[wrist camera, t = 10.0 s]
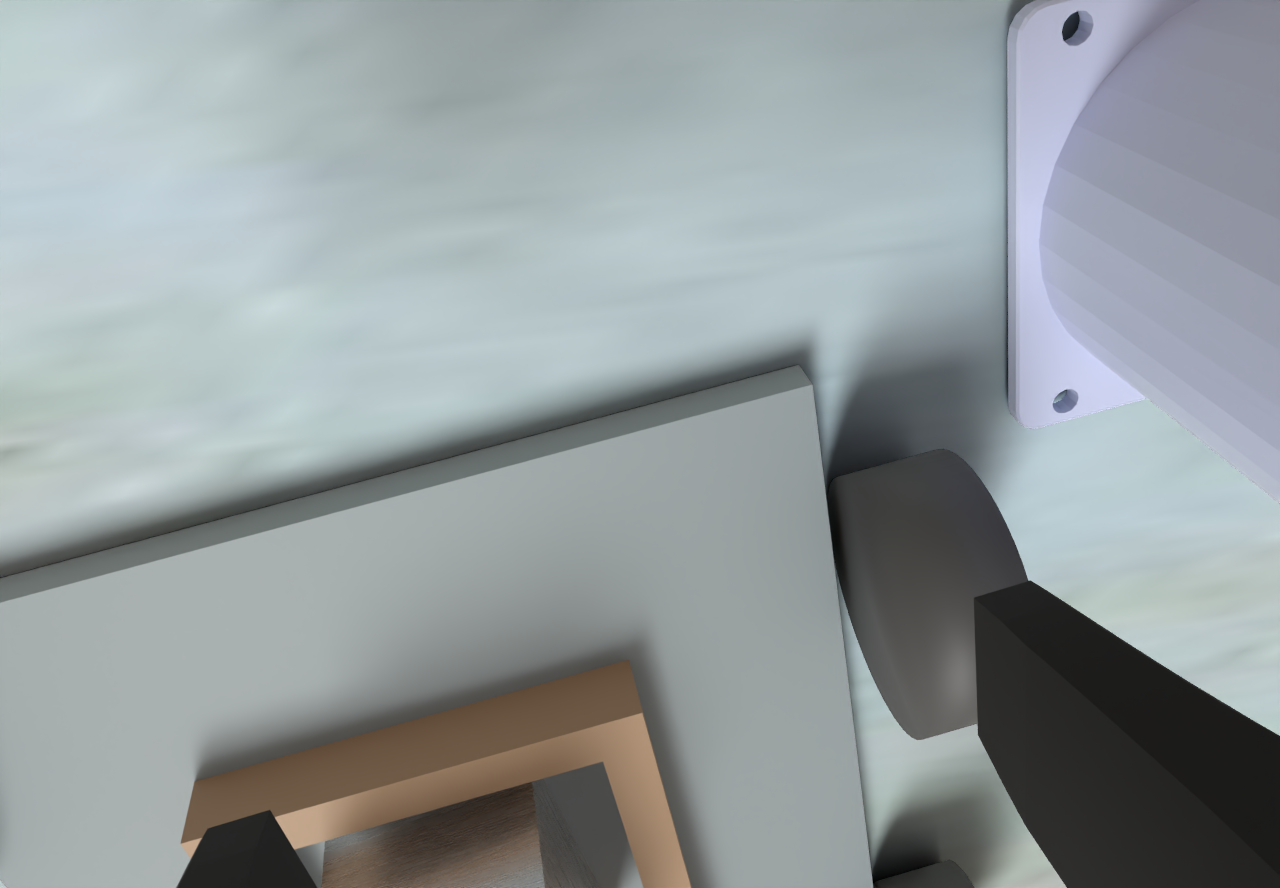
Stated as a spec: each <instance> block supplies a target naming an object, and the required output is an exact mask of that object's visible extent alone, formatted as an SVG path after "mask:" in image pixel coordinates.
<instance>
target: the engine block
mask: <svg viewBox="0 0 1280 888" xmlns="http://www.w3.org/2000/svg"><path fill="white" fill-rule="evenodd" d="M321 888H601V887H600V885H599V883H598V882H597V880H596V878H595V876H594V874H593V872H592V870H591V868H590V866H589V864H588V862H587V861H586V859H585V857H584V855H583V853H582V851H581V849H580V847H579V845H578V843H577V842H576V840H575V838H574V836H573V834H572V832H571V830H570V828H569V826H568V824H567V822H566V821H565V819H564V817H563V815H562V813H561V811H560V809H559V807H558V805H557V803H556V802H555V800H554V798H553V796H552V794H551V792H550V790H549V788H548V786H547V784H546V782H545V781H544V779H540V780H536V781H533V782H529V783H526V784H522V785H519V786H515V787H512V788H508V789H505V790H501V791H498V792H494V793H491V794H487V795H484V796H480V797H477V798H473V799H470V800H466V801H463V802H459V803H456V804H452V805H449V806H445V807H442V808H438V809H435V810H431V811H428V812H424V813H421V814H417V815H414V816H410V817H407V818H403V819H400V820H396V821H393V822H389V823H386V824H382V825H379V826H375V827H372V828H368V829H365V830H361V831H358V832H354V833H351V834H347V835H344V836H340V837H337V838H333V839H330V840H326V841H325V849H324V861H323V872H322V884H321Z"/></svg>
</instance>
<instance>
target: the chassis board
mask: <svg viewBox="0 0 1280 888" xmlns="http://www.w3.org/2000/svg"><path fill="white" fill-rule="evenodd" d="M833 555H834V558H833ZM834 560H835V565H836V569H837V574H838V578H839V582H840V586H841V589H842V593H843V597H844V600H845V603H846V607H847V610H848V613H849V616H850V619H851V623H852V626H853V629H854V631H855V634H856V637H857V640H858V643H859V645H860V648H861V650H862V653H863V656H864V658H865V661H866V663H867V665H868V668H869V670H870V672H871V675H872V677H873V679H874V681H875V683H876V685H877V687H878V689H879V691H880V693H881V695H882V697H883V699H884V701H885V703H886V705H887V706H888V708H889V710H890V711H891V713H892V715H893V716H894V718H895V719H896V721H897V722H898V723H899V725H900V726H901V727H902V728H903V730H904V731H905V732H906V733H907V734H908V735H910V736H911V737H912V738H914V739H916V740H922V739H926V738H929V737H933V736H936V735H940V734H943V733H946V732H950V731H953V730H957V729H960V728H964V727H967V726H971V725H974V724H978V718H977V686H976V655H975V623H974V597H977V596H981V595H984V594H987V593H991V592H994V591H997V590H1001V589H1004V588H1007V587H1011V586H1014V585H1017V584H1020V583H1024V582H1027V581H1028V578H1027V575H1026V572H1025V569H1024V566H1023V563H1022V561H1021V558H1020V555H1019V553H1018V550H1017V548H1016V545H1015V542H1014V540H1013V538H1012V536H1011V533H1010V531H1009V529H1008V527H1007V524H1006V522H1005V520H1004V518H1003V517H1002V515H1001V513H1000V511H999V509H998V507H997V505H996V503H995V502H994V500H993V498H992V496H991V495H990V493H989V492H988V490H987V489H986V487H985V486H984V484H983V483H982V481H981V480H980V478H979V477H978V476H977V475H976V473H975V472H974V471H973V469H972V468H971V467H970V466H969V465H968V464H967V463H966V462H965V461H964V460H963V459H961V458H960V457H959V456H958V455H956V454H955V453H953V452H951V451H949V450H945V449H937V450H933V451H930V452H926V453H923V454H919V455H915V456H912V457H908V458H904V459H901V460H897V461H893V462H890V463H886V464H882V465H879V466H875V467H871V468H868V469H864V470H860V471H857V472H853V473H850V474H846V475H842V476H839V477H836V478H834V479H833V481H832V482H831V484H830V488H829V493H828V508H827V500H826V492H825V484H824V475H823V467H822V459H821V450H820V442H819V434H818V426H817V417H816V409H815V401H814V392H813V384H812V383H811V382H810V380H809V379H808V377H807V376H806V374H805V373H804V372H803V370H802V369H801V367H800V366H799V365H796V366H792V367H788V368H784V369H781V370H777V371H773V372H769V373H766V374H762V375H758V376H755V377H751V378H747V379H743V380H740V381H736V382H732V383H728V384H725V385H721V386H717V387H713V388H710V389H706V390H702V391H698V392H695V393H691V394H687V395H684V396H680V397H676V398H672V399H669V400H665V401H661V402H657V403H654V404H650V405H646V406H642V407H639V408H635V409H631V410H627V411H624V412H620V413H616V414H612V415H609V416H605V417H601V418H598V419H594V420H590V421H586V422H583V423H579V424H575V425H571V426H568V427H564V428H560V429H556V430H553V431H549V432H545V433H541V434H538V435H534V436H530V437H526V438H523V439H519V440H515V441H512V442H508V443H504V444H500V445H497V446H493V447H489V448H485V449H482V450H478V451H474V452H470V453H467V454H463V455H459V456H455V457H452V458H448V459H444V460H441V461H437V462H433V463H429V464H426V465H422V466H418V467H414V468H411V469H407V470H403V471H399V472H396V473H392V474H388V475H384V476H381V477H377V478H373V479H369V480H366V481H362V482H358V483H355V484H351V485H347V486H343V487H340V488H336V489H332V490H328V491H325V492H321V493H317V494H313V495H310V496H306V497H302V498H298V499H295V500H291V501H287V502H283V503H280V504H276V505H272V506H269V507H265V508H261V509H257V510H254V511H250V512H246V513H242V514H239V515H235V516H231V517H227V518H224V519H220V520H216V521H212V522H209V523H205V524H201V525H198V526H194V527H190V528H186V529H183V530H179V531H175V532H171V533H168V534H164V535H160V536H156V537H153V538H149V539H145V540H141V541H138V542H134V543H130V544H126V545H123V546H119V547H115V548H112V549H108V550H104V551H100V552H97V553H93V554H89V555H85V556H82V557H78V558H74V559H70V560H67V561H63V562H59V563H55V564H52V565H48V566H44V567H40V568H37V569H33V570H29V571H26V572H22V573H18V574H14V575H11V576H7V577H3V578H0V880H1V881H2V883H3V884H4V885H5V886H6V887H7V888H176V887H177V885H178V883H179V881H180V879H181V877H182V875H183V873H184V871H185V869H186V867H187V865H188V863H189V862H190V860H191V858H192V856H193V854H194V852H195V850H196V848H197V846H198V844H199V842H200V840H201V839H202V837H203V835H204V834H205V832H206V830H207V829H208V828H211V827H214V826H217V825H221V824H224V823H227V822H231V821H234V820H237V819H241V818H244V817H247V816H251V815H254V814H257V813H261V812H264V811H267V810H270V811H271V812H272V814H273V816H274V817H275V819H276V820H277V822H278V824H279V825H280V827H281V829H282V830H283V832H284V834H285V835H286V837H287V838H288V840H289V842H290V843H291V845H292V847H293V848H294V850H295V852H296V853H297V855H298V857H299V858H300V860H301V861H302V863H303V865H304V866H305V868H306V870H307V871H308V873H309V875H310V876H311V878H312V880H313V881H314V883H315V884H316V886H317V888H321V884H322V872H323V861H324V849H325V841H326V840H330V839H333V838H337V837H340V836H344V835H347V834H351V833H354V832H358V831H361V830H365V829H368V828H372V827H375V826H379V825H382V824H386V823H389V822H393V821H396V820H400V819H403V818H407V817H410V816H414V815H417V814H421V813H424V812H428V811H431V810H435V809H438V808H442V807H445V806H449V805H452V804H456V803H459V802H463V801H466V800H470V799H473V798H477V797H480V796H484V795H487V794H491V793H494V792H498V791H501V790H505V789H508V788H512V787H515V786H519V785H522V784H526V783H529V782H533V781H536V780H540V779H544V781H545V782H546V784H547V786H548V788H549V790H550V792H551V794H552V796H553V798H554V800H555V802H556V803H557V805H558V807H559V809H560V811H561V813H562V815H563V817H564V819H565V821H566V822H567V824H568V826H569V828H570V830H571V832H572V834H573V836H574V838H575V840H576V842H577V843H578V845H579V847H580V849H581V851H582V853H583V855H584V857H585V859H586V861H587V862H588V864H589V866H590V868H591V870H592V872H593V874H594V876H595V878H596V880H597V882H598V883H599V885H600V887H601V888H974V886H973V885H972V883H971V882H970V880H969V879H968V877H967V876H966V874H965V873H964V872H963V870H962V869H961V868H960V867H959V866H958V865H957V864H956V863H955V862H953V861H951V860H947V861H943V862H940V863H937V864H933V865H930V866H926V867H923V868H920V869H916V870H913V871H910V872H906V873H903V874H899V875H896V876H893V877H889V878H886V879H883V880H879V881H876V882H875V883H874V887H873V881H872V873H871V865H870V856H869V848H868V840H867V831H866V823H865V815H864V807H863V798H862V790H861V782H860V773H859V765H858V757H857V749H856V740H855V732H854V724H853V715H852V707H851V699H850V691H849V682H848V674H847V666H846V657H845V649H844V641H843V633H842V624H841V616H840V608H839V599H838V591H837V583H836V575H835V566H834Z"/></svg>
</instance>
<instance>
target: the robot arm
mask: <svg viewBox="0 0 1280 888" xmlns="http://www.w3.org/2000/svg"><path fill="white" fill-rule="evenodd" d="M1077 11H1078V13H1079V17H1080V23H1079V26H1078V30H1077V31H1076V32H1075V34H1074V35H1073V36H1072V37H1071V38H1069V39H1067V40H1065V41H1063V36H1062V29H1063V25H1064V22H1065V21H1066V20H1067V18H1068V17H1069V16H1070V15H1071V14H1073V13H1075V12H1077ZM1007 95H1008V407H1009V411H1010V414H1011V415H1012V416H1013V417H1014V418H1015V419H1016V420H1017V421H1018V422H1019V423H1020V424H1021V425H1022V426H1023V427H1026V428H1029V429H1036V428H1042V427H1046V426H1049V425H1053V424H1056V423H1060V422H1064V421H1067V420H1071V419H1075V418H1078V417H1082V416H1086V415H1089V414H1093V413H1097V412H1100V411H1104V410H1107V409H1111V408H1115V407H1118V406H1122V405H1126V404H1129V403H1133V402H1137V401H1140V400H1144V399H1148V400H1150V401H1151V402H1152V403H1153V404H1155V405H1156V406H1157V407H1158V408H1160V409H1161V410H1162V411H1163V412H1165V413H1166V414H1167V415H1168V416H1170V417H1171V418H1172V419H1173V420H1175V421H1176V422H1177V423H1178V424H1180V425H1181V426H1182V427H1184V428H1185V429H1186V430H1187V431H1189V432H1190V433H1191V434H1192V435H1194V436H1195V437H1196V438H1197V439H1199V440H1200V441H1201V442H1202V443H1204V444H1205V445H1206V446H1207V447H1209V448H1210V449H1211V450H1212V451H1214V452H1215V453H1216V454H1217V455H1219V456H1220V457H1221V458H1223V459H1224V460H1225V461H1226V462H1228V463H1229V464H1230V465H1231V466H1233V467H1234V468H1235V469H1236V470H1238V471H1239V472H1240V473H1241V474H1243V475H1244V476H1245V477H1246V478H1248V479H1249V480H1250V481H1251V482H1253V483H1254V484H1255V485H1256V486H1258V487H1259V488H1260V489H1262V490H1263V491H1264V492H1265V493H1267V494H1268V495H1269V496H1270V497H1272V498H1273V499H1274V500H1275V501H1277V502H1278V503H1279V504H1280V0H1035V1H1033V2H1031V3H1028V4H1026V5H1025V6H1024V7H1023V8H1022V9H1021V10H1020V11H1019V12H1018V13H1017V14H1016V15H1015V17H1014V19H1013V21H1012V23H1011V25H1010V27H1009V33H1008V39H1007ZM1064 390H1067V393H1066V395H1065V396H1064V397H1063V398H1062V400H1060V401H1058V402H1056V403H1053V402H1054V399H1055V397H1056V396H1057V395H1058V394H1059V393H1060V392H1062V391H1064ZM974 623H975V655H976V686H977V718H978V736H979V738H980V740H981V742H982V744H983V745H984V747H985V749H986V751H987V753H988V755H989V757H990V759H991V761H992V763H993V765H994V767H995V769H996V771H997V773H998V775H999V777H1000V779H1001V781H1002V783H1003V785H1004V787H1005V788H1006V790H1007V792H1008V794H1009V796H1010V798H1011V800H1012V801H1013V803H1014V805H1015V807H1016V809H1017V811H1018V813H1019V814H1020V816H1021V818H1022V820H1023V822H1024V824H1025V826H1026V827H1027V829H1028V830H1029V832H1030V833H1031V835H1032V836H1033V838H1034V839H1035V841H1036V842H1037V844H1038V845H1039V847H1040V848H1041V850H1042V851H1043V853H1044V854H1045V856H1046V857H1047V859H1048V860H1049V862H1050V863H1051V865H1052V866H1053V868H1054V869H1055V871H1056V872H1057V873H1058V875H1059V876H1060V878H1061V879H1062V881H1063V882H1064V884H1065V885H1066V887H1067V888H1280V736H1279V735H1277V734H1275V733H1274V732H1272V731H1270V730H1269V729H1267V728H1265V727H1263V726H1262V725H1260V724H1258V723H1256V722H1255V721H1253V720H1251V719H1250V718H1248V717H1246V716H1245V715H1243V714H1241V713H1240V712H1238V711H1236V710H1235V709H1233V708H1231V707H1230V706H1228V705H1226V704H1225V703H1223V702H1221V701H1220V700H1218V699H1216V698H1215V697H1213V696H1211V695H1210V694H1208V693H1206V692H1205V691H1203V690H1201V689H1200V688H1198V687H1196V686H1195V685H1193V684H1191V683H1190V682H1188V681H1187V680H1185V679H1183V678H1182V677H1180V676H1179V675H1177V674H1175V673H1174V672H1172V671H1171V670H1169V669H1167V668H1166V667H1164V666H1163V665H1161V664H1159V663H1158V662H1156V661H1155V660H1153V659H1152V658H1150V657H1148V656H1147V655H1145V654H1144V653H1142V652H1141V651H1139V650H1137V649H1136V648H1134V647H1133V646H1131V645H1130V644H1128V643H1127V642H1125V641H1123V640H1122V639H1120V638H1119V637H1117V636H1116V635H1114V634H1113V633H1111V632H1110V631H1108V630H1106V629H1105V628H1103V627H1102V626H1100V625H1099V624H1097V623H1096V622H1094V621H1093V620H1091V619H1090V618H1088V617H1087V616H1085V615H1084V614H1082V613H1080V612H1079V611H1077V610H1076V609H1074V608H1073V607H1071V606H1070V605H1068V604H1067V603H1065V602H1064V601H1062V600H1061V599H1059V598H1057V597H1056V596H1054V595H1053V594H1051V593H1050V592H1048V591H1047V590H1045V589H1043V588H1042V587H1040V586H1039V585H1037V584H1035V583H1034V582H1032V581H1027V582H1024V583H1020V584H1017V585H1014V586H1011V587H1007V588H1004V589H1001V590H997V591H994V592H991V593H987V594H984V595H981V596H977V597H974ZM176 888H317V886H316V884H315V883H314V881H313V880H312V878H311V876H310V875H309V873H308V871H307V870H306V868H305V866H304V865H303V863H302V861H301V860H300V858H299V857H298V855H297V853H296V852H295V850H294V848H293V847H292V845H291V843H290V842H289V840H288V838H287V837H286V835H285V834H284V832H283V830H282V829H281V827H280V825H279V824H278V822H277V820H276V819H275V817H274V816H273V814H272V812H271V811H270V810H267V811H264V812H261V813H257V814H254V815H251V816H247V817H244V818H241V819H237V820H234V821H231V822H227V823H224V824H221V825H217V826H214V827H211V828H208V829H207V830H206V832H205V834H204V835H203V837H202V839H201V840H200V842H199V844H198V846H197V848H196V850H195V852H194V854H193V856H192V858H191V860H190V862H189V863H188V865H187V867H186V869H185V871H184V873H183V875H182V877H181V879H180V881H179V883H178V885H177V887H176Z"/></svg>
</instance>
